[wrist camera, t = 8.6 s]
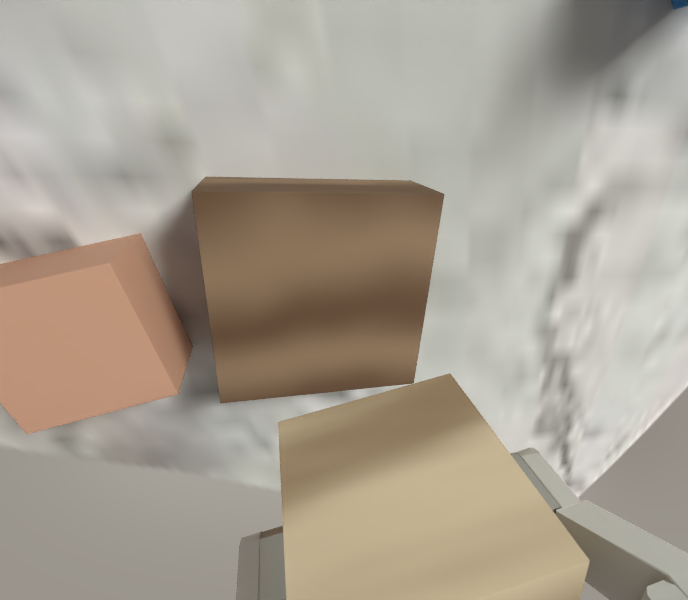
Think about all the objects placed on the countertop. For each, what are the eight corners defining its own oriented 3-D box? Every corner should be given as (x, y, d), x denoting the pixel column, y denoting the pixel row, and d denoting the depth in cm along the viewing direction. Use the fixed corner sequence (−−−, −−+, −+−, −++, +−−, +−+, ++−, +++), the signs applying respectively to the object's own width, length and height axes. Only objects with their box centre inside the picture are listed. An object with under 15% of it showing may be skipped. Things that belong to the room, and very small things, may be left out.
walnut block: (206, 176, 20) (191, 191, 16) (408, 179, 23) (444, 194, 18) (227, 354, 25) (220, 403, 21) (389, 342, 28) (413, 383, 23)
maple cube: (278, 421, 10) (289, 665, 5) (450, 373, 10) (589, 560, 6) (317, 528, 12) (347, 758, 8) (455, 484, 13) (559, 678, 8)
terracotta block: (-7, 264, 20) (-83, 306, 15) (141, 232, 21) (109, 262, 16) (70, 375, 24) (27, 434, 19) (193, 344, 24) (177, 394, 20)
